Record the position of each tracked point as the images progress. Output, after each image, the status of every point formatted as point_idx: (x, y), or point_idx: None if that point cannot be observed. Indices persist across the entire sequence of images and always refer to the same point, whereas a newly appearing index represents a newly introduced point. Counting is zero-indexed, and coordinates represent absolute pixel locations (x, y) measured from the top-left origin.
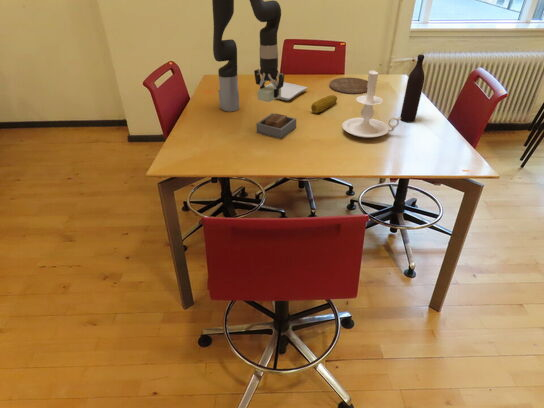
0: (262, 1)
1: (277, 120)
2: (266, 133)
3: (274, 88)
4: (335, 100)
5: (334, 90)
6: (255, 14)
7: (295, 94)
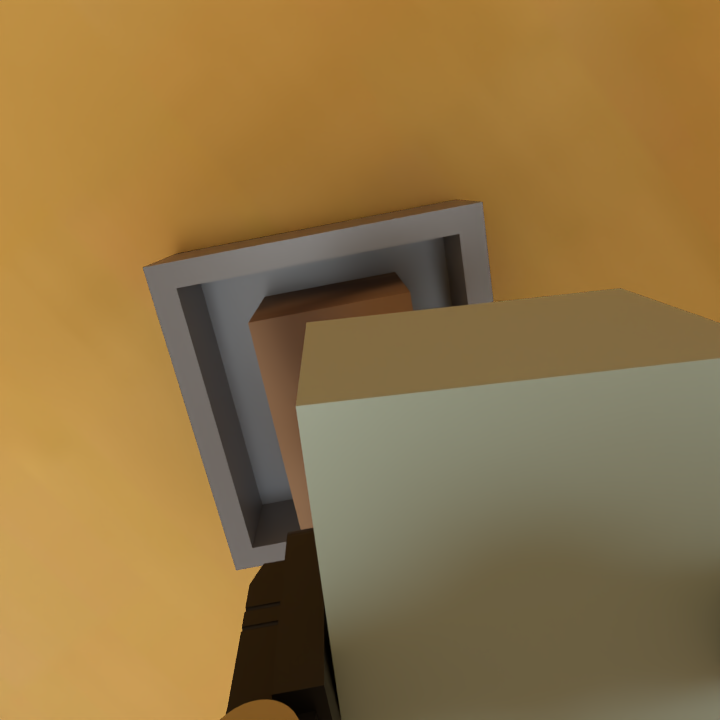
0: None
1: (293, 375)
2: (342, 223)
3: (291, 713)
4: None
5: None
6: None
7: None
